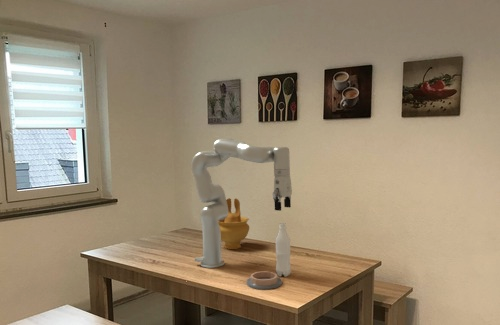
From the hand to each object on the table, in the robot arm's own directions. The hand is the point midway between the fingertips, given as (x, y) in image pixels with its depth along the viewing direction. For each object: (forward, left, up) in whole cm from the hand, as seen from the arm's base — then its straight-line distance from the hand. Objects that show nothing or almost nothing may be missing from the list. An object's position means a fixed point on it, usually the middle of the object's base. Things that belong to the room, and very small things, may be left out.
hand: (282, 208), depth 190 cm
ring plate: (-11, -9, -32) cm, 35 cm away
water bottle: (0, 0, -32) cm, 32 cm away
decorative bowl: (-19, +58, -32) cm, 69 cm away
